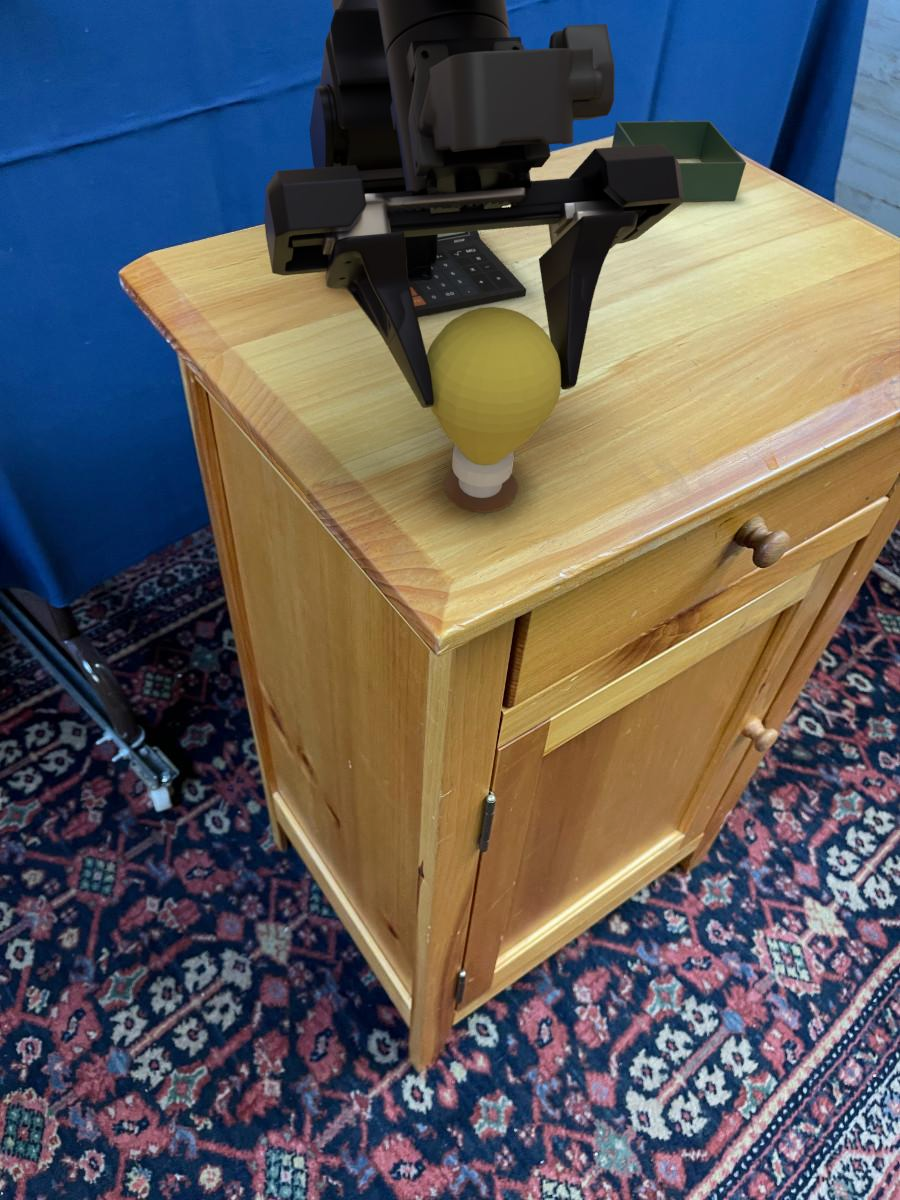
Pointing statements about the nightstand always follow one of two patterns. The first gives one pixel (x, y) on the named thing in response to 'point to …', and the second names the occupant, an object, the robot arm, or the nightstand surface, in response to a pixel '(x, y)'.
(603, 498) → the nightstand surface
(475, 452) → the light bulb
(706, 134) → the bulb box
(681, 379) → the nightstand surface
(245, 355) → the nightstand surface
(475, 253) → the calculator
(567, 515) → the nightstand surface
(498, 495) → the coaster
